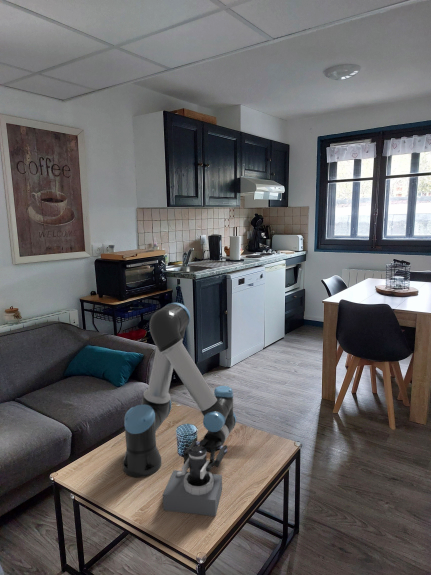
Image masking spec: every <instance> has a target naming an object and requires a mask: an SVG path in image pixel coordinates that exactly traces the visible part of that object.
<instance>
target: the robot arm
mask: <svg viewBox="0 0 431 575" xmlns="http://www.w3.org/2000/svg"><path fill="white" fill-rule="evenodd" d="M190 321H191V313H190V310H189V309H188V308H187V307H186V305H184V304H183V303H179V302H171V303H168V304H166V305H165V306H163V307H162V308H160V309H158V310H157V311H155V312H154V313H153V314H152V315H151V318H150V320H149V331H150V332H149V333H150V335H151V337H152V340H153V342H154V345H155V346H156V347H155V353H154V357H153V362H152V369H151V372H150V377H149V383H148V388H146V389H145V390H144V391H143V395H142V399H141V403H140V404H137V405H135V406H132V407H131V408H129V409H128V410H127V411H126V412H125V415H124V423H123V424H124V432H125V436H124V437H125V447H126V450H125V454H124V458H123V461H122V467H123V468H122V470H123V472H124V473H125V474H126V475H127V476H129V477H133V478H144V477H149V476H151V475H153V474H156V473H157V472H158V470H159V469H160V468H161V467H162V456H161V452H160V451H159V448H158V447H157V438H156V437H157V436H156V433H157V430H158V429H159V428H160V426H161V425H162V424H163V423H164V422H165V420H166V419H167V418H168V417H169V415H170V412H171V410H172V401H171V398H172V397H171V394H170V393H169V391H170V386H171V381H172V375H173V372H174V371H175V373H176V374H177V376H178V378H179V379H180V380H181V382H182V384H183V385H184V387H185V388H186V390H187V392H188V394H189V395H190V396H191V398H192V399H193V401H194V403H195V404H196V405H197V408H198V409H199V411H200V412H201V414H202V416H203V419H202V423H203V427H204V429H206V433H205V435H204V437H203V439H201V440H200V441H197V439H192V443H191V444H190V445H189V446H188V447H187V449H185V451H184V452H183V465H182V467H181V471H182V475H185V473H186V472H188V470H189V449H190V448H192V447H194V446H202V447H204V448H206V451H207V453H209V454H210V456H209V459H207V461H206V463H205V464H204V466H203V468H202V469H201V471H200V479H203V477H204V476H205V474H206V473H207V472H210V471H211V470H212V468H214V467H216V468H219V467H220V465H221V463H222V461H223V458H224V457H225V455H227V453H228V445H227V444H225V442H226V440H227V439H228V437H229V435H230V434H231V432H232V430H233V429H234V428H235V426H236V424H237V417H236V414H235V412H234V391H233V388H232V387H230V386H228V385H220V386H217V387H215V388H214V391H213V390H212V389H211V387H210V386H209V384H208V383H207V381H206V379H205V378H204V376H203V375H202V373H201V371H200V369H199V368H198V366H197V365H196V363H195V361H194V360H193V358H192V357H191V355H190V353H189V351H188V350H187V348H186V347H185V345H184V344H183V341H184V337H185V332H186V329H187V327H188V326H189V325H190ZM216 452H218V453H217V456H216ZM215 456H216V457H215Z"/></svg>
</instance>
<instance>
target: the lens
mask: <svg viewBox="0 0 431 575" xmlns="http://www.w3.org/2000/svg"><path fill="white" fill-rule="evenodd" d="M207 454H208V452H207V451H206V448H204V447H202V446H194V447H192V448H190V449H189V469H188V470H189V472H190V484H191V485H192V486H203V485H206V484H207V473H206V474H205V476H204V477H203V479H200V471H201V469H202V468H203V466H204V464H205V463H206V461H207V460H208V459H207V458H208V457H207V456H208V455H207Z"/></svg>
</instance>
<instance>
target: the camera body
mask: <svg viewBox="0 0 431 575" xmlns="http://www.w3.org/2000/svg"><path fill="white" fill-rule="evenodd" d="M222 492H223V475H222V474H217V473H216V474H215V473H212V472H210V471H209V472H207V484H206V485H203V486H192V485H191V484H190V471H187V472H186V473H185V475H182V470H178V469H177V470H176V469H173V471H172V473H171V475H170V478H169V480H168V482H167V484H166V486H165V489H164V491H163V493H162V507H163V508H162V509H163V511H166V512H167V511H168V512H175V513H176V512H177V513H183V514H194V515H201V516H210V517H216V516H217V513H218V508H219V505H220V500H221V496H222Z"/></svg>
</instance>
